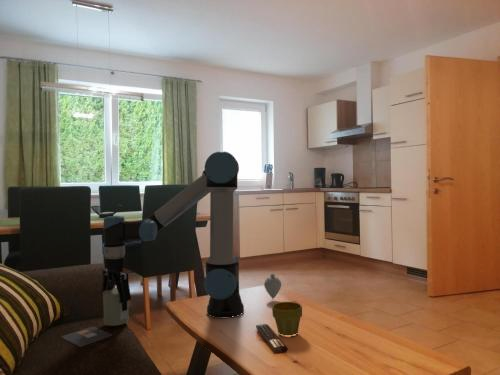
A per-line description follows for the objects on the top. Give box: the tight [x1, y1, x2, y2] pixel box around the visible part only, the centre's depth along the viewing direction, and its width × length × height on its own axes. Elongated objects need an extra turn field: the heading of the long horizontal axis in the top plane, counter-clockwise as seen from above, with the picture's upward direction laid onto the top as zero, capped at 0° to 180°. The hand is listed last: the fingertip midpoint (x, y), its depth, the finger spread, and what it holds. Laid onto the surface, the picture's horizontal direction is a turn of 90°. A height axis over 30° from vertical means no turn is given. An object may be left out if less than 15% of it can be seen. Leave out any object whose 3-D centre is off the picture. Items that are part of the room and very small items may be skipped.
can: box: [102, 287, 130, 327], centre depth 142 cm, size 9×9×12 cm
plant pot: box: [271, 301, 303, 335], centre depth 130 cm, size 10×10×10 cm
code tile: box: [60, 326, 114, 348], centre depth 132 cm, size 14×12×1 cm
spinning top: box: [264, 273, 282, 299], centre depth 168 cm, size 8×8×12 cm
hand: (116, 316), depth 142 cm, fingers closed on can, 9 cm apart
